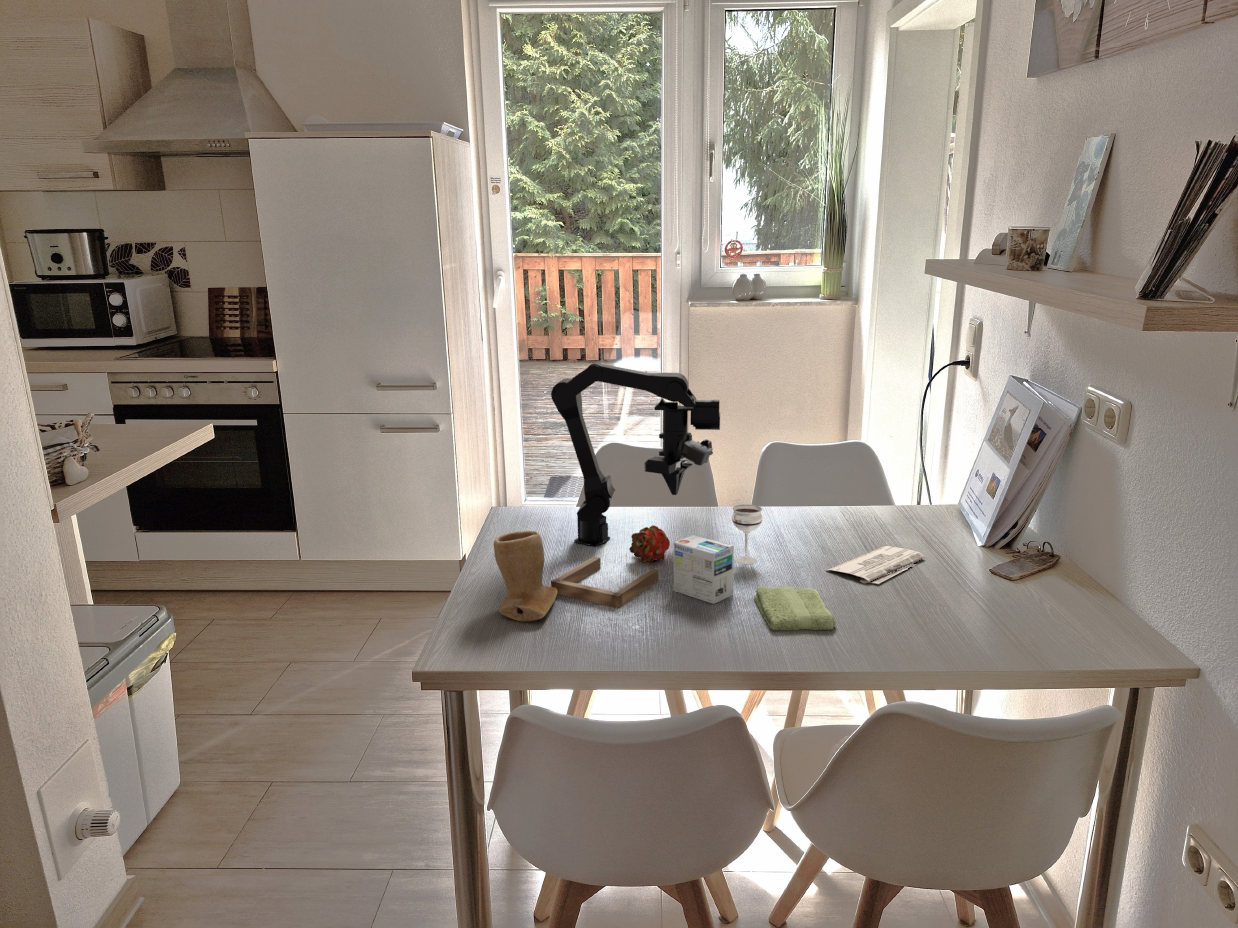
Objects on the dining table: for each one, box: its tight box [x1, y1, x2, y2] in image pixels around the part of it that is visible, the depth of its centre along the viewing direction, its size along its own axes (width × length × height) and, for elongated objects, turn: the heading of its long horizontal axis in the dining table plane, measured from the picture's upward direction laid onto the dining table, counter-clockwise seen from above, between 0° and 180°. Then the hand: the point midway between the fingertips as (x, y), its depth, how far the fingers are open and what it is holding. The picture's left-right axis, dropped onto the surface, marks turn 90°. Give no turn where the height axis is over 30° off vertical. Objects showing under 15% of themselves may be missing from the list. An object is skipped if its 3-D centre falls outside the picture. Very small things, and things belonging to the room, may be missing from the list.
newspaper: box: [825, 545, 925, 585], centre depth 192 cm, size 23×12×2 cm, turn 131°
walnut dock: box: [550, 556, 660, 609], centre depth 182 cm, size 16×16×2 cm
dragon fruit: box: [629, 525, 671, 564], centre depth 197 cm, size 8×8×12 cm
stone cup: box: [493, 530, 558, 622], centre depth 170 cm, size 15×12×15 cm
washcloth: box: [753, 586, 836, 631], centre depth 168 cm, size 13×18×3 cm
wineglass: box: [731, 503, 764, 565], centre depth 195 cm, size 7×7×12 cm
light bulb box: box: [673, 534, 735, 605], centre depth 177 cm, size 11×7×11 cm, turn 47°
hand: (674, 494), depth 205 cm, fingers closed
